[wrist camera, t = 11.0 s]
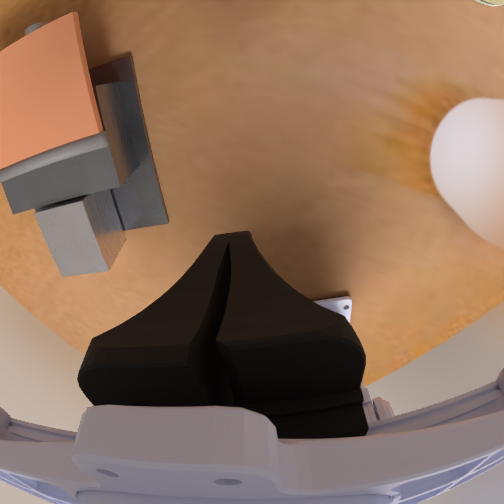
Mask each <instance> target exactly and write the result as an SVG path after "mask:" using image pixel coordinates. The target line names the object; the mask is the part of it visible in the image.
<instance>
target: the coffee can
mask: <svg viewBox="0 0 504 504" xmlns="http://www.w3.org/2000/svg"><path fill="white" fill-rule="evenodd" d="M475 1H476V2H478V3H481V4H484V5H487V6H501V5H504V0H475Z"/></svg>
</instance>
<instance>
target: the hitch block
mask: <svg viewBox="0 0 504 504" xmlns="http://www.w3.org/2000/svg"><path fill="white" fill-rule="evenodd" d="M89 74H90V79H91V83H92V87H93V92H94V96H95V100H96V104H97V108H98V112H99V115H100V119H101V123H102V127H103V131H106V133H107V134H108V138H109V144H108V146H107V147H104V148H100V149H97V150H93V151H90V152H86V153H83V154H80V155H76V156H73V157H70V158H67V159H64V160H61V161H58V162H55V163H52V164H49V165H46V166H43V167H40V168H37V169H35V170H32V171H29V172H26V173H24V174H21V175H19V176H16V177H13V178H11V179H8V180H6V181H3V182H1V183H2V185H3V188H4V191H5V194H6V197H7V199H8V202H9V205H10V207H11V210H12V212H13V214H17V213H20V212H23V211H27V210H30V209H33V208H35V210H36V211H37V210H39V209H40V208H41V207H42V206H44V205H48V204H51V203H55V202H59V201H63V200H67V199H70V198H74V197H78V196H82V195H87V194H91V193H95V192H99V191H103V190H108V189H110V192H111V195H112V198H113V201H114V204H115V207H116V211H117V214H118V217H119V220H120V223H121V226H122V229H123V231H124V230H130V229H136V228H142V227H148V226H155V225H161V224H167V223H168V222H169V219H168V215H167V211H166V208H165V204H164V200H163V196H162V192H161V188H160V185H159V181H158V176H157V172H156V168H155V164H154V160H153V156H152V151H151V147H150V143H149V138H148V134H147V129H146V125H145V120H144V115H143V111H142V106H141V101H140V96H139V91H138V85H137V80H136V75H135V69H134V64H133V58H132V56H129V57H125V58H122V59H119V60H116V61H113V62H110V63H107V64H104V65H101V66H98V67H95V68H93V69H90V70H89Z"/></svg>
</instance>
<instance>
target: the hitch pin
mask: <svg viewBox="0 0 504 504" xmlns="http://www.w3.org/2000/svg"><path fill="white" fill-rule="evenodd" d="M48 23H50V22H49V21H43V22H39V23H36V24H33V25H31V26H29V27H28V28H26V29H25V30H24V35H25V36H26V35H28V34H30V33H31V32H33V31H35V30H37V29H39V28H40V27H42V26H44V25H46V24H48ZM35 216H36V219H37V221H38V223H39V226H40V228H41V231H42V233H43V235H44V238H45V240H46V242H47V245H48V247H49V249H50V251H51V254H52V256H53V258H54V260H55V262H56V264H57V266H58V269H59V271H60V273H61V275H62V277H64V276H72V275H80V274H88V273H96V272H105V271H109V270H110V268H111V266H112V264H113V263H114V261H115V259H116V257H117V255H118V253H119V252H120V250H121V248H122V246H123V245H124V243H125V241H126V237H125V234H124V231H123V229H122V226H121V223H120V220H119V217H118V214H117V211H116V207H115V204H114V201H113V198H112V195H111V192H110V189H108V190H103V191H99V192H95V193H91V194H87V195H82V196H78V197H74V198H70V199H67V200H63V201H59V202H55V203H51V204H48V205H44V206H42V207H41V208H40V209H39V210H37V211H36V212H35Z"/></svg>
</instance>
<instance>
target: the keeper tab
mask: <svg viewBox="0 0 504 504" xmlns="http://www.w3.org/2000/svg"><path fill="white" fill-rule="evenodd" d="M108 144H109V138H108V134H107V133H106V131H103V127H102V123H101V119H100V115H99V112H98V108H97V104H96V100H95V96H94V92H93V87H92V83H91V79H90V74H89V70H88V65H87V61H86V56H85V51H84V46H83V40H82V35H81V29H80V23H79V17H78V12H71V13H69V14H66V15H64V16H62V17H60V18H58V19H56V20H54V21H52V22H50V23H48V24H46V25H44V26H42V27H40V28H39V29H37V30H35V31H33V32H31V33H30V34H28V35H26V36H24V37H23V38H21V39H19V40H18V41H16V42H14V43H13V44H11V45H9V46H8V47H6V48H5V49H3V50H2V51H0V183H1V182H3V181H6V180H8V179H11V178H13V177H16V176H19V175H21V174H24V173H26V172H29V171H32V170H35V169H37V168H40V167H43V166H46V165H49V164H52V163H55V162H58V161H61V160H64V159H67V158H70V157H73V156H76V155H80V154H83V153H86V152H90V151H93V150H97V149H100V148H104V147H107V146H108Z"/></svg>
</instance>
